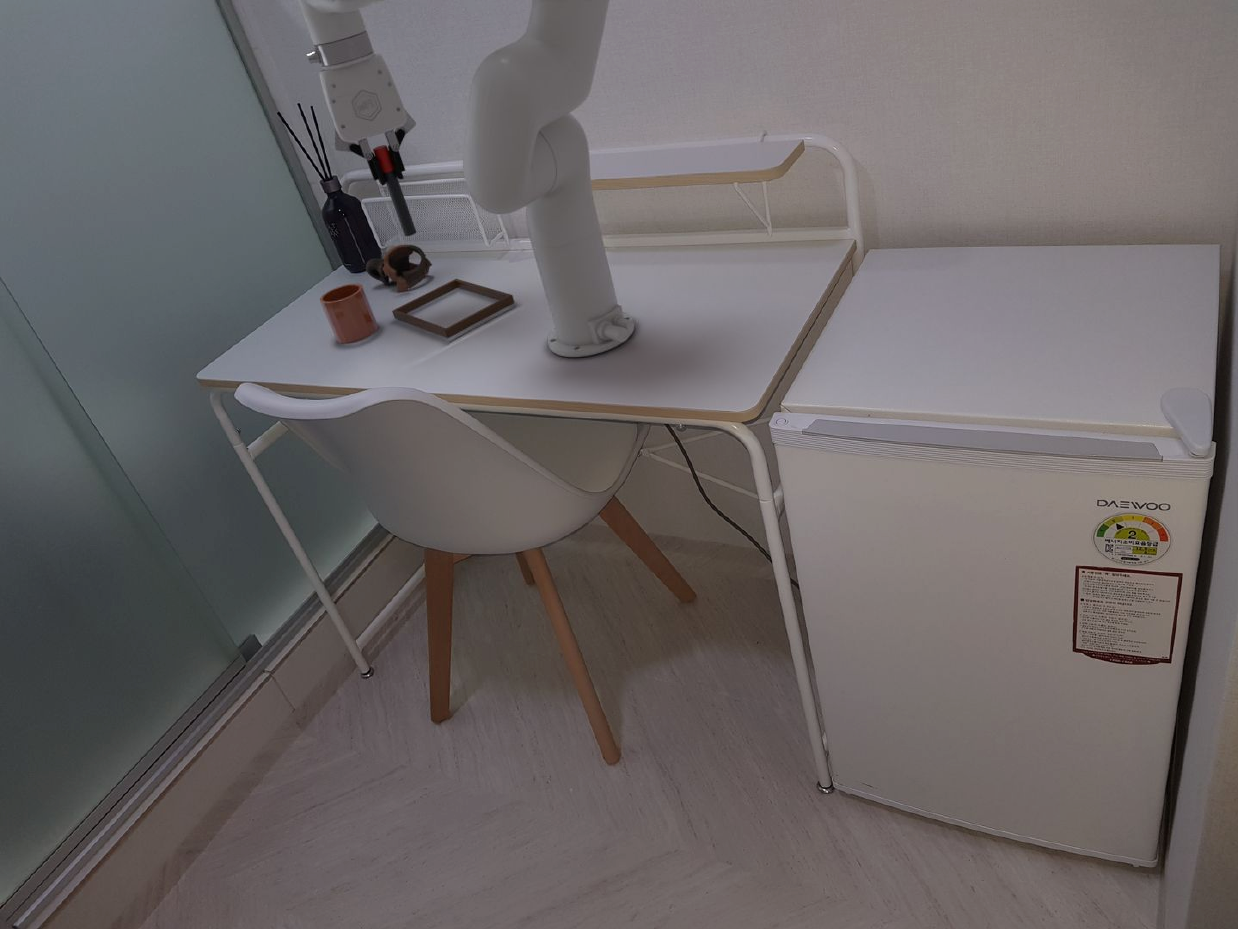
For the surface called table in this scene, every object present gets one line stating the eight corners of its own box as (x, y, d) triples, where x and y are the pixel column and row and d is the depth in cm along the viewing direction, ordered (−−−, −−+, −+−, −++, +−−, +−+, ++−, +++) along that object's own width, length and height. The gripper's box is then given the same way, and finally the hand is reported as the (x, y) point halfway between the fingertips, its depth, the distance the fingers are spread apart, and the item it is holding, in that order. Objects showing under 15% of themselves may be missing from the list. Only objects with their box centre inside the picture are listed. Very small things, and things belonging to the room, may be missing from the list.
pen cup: (387, 332, 151) (369, 287, 147) (350, 350, 148) (331, 305, 144) (368, 324, 156) (350, 280, 152) (331, 342, 153) (312, 298, 149)
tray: (516, 306, 148) (512, 294, 147) (449, 342, 142) (444, 330, 141) (460, 289, 160) (456, 278, 159) (396, 322, 154) (391, 310, 153)
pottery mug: (437, 270, 173) (432, 239, 165) (433, 310, 168) (427, 279, 161) (372, 268, 172) (364, 237, 165) (366, 308, 167) (357, 277, 160)
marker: (419, 232, 143) (388, 145, 136) (408, 237, 142) (376, 149, 135) (412, 230, 145) (382, 144, 137) (401, 235, 144) (370, 149, 136)
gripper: (291, 70, 124) (343, 202, 134) (404, 37, 128) (446, 168, 137) (288, 65, 131) (337, 192, 140) (395, 34, 134) (436, 159, 144)
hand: (391, 179), depth 139 cm, fingers closed on marker, 2 cm apart
